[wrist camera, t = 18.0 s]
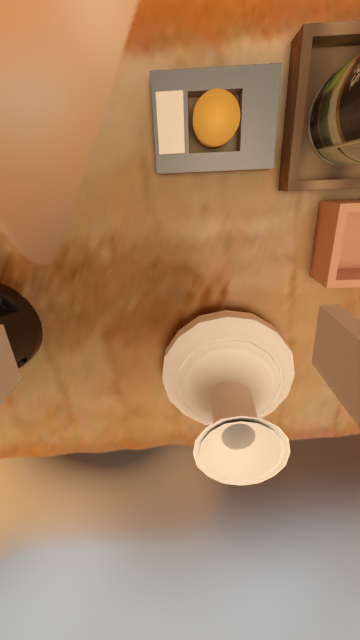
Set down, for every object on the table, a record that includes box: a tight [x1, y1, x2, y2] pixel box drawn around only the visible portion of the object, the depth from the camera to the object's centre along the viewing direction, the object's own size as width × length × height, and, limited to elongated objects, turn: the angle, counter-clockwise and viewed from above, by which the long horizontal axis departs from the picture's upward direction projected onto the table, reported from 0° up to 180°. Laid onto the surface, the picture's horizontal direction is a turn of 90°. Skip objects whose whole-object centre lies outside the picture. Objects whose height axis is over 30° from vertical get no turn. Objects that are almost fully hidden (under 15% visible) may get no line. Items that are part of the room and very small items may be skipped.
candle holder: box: [162, 310, 295, 485], centre depth 41 cm, size 20×20×19 cm
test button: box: [193, 88, 240, 149], centre depth 34 cm, size 5×5×4 cm
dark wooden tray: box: [279, 20, 360, 191], centre depth 34 cm, size 15×15×4 cm
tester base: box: [150, 63, 282, 174], centre depth 35 cm, size 14×10×3 cm
